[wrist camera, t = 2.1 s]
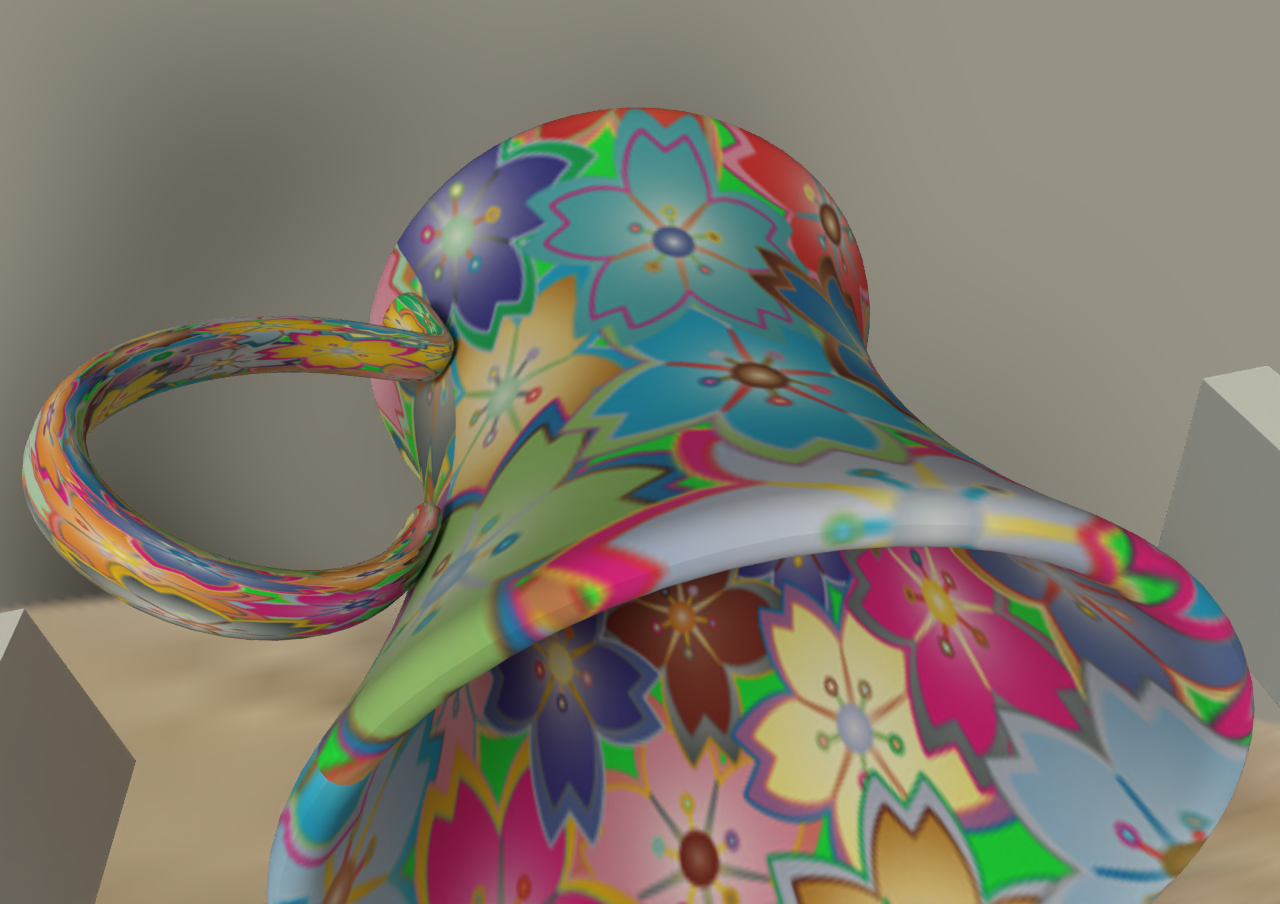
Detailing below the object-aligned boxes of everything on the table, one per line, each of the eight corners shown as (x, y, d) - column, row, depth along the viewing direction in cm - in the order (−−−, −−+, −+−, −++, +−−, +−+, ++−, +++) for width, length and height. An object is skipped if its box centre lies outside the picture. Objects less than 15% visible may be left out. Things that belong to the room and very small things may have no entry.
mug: (975, 243, 18) (1444, 721, 10) (675, 585, 22) (826, 1135, 14) (342, -205, 13) (173, 6, 4) (92, 354, 17) (-248, 1031, 8)
